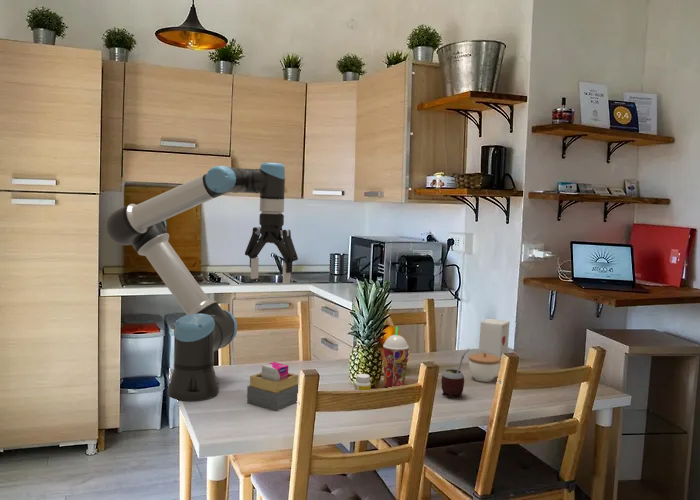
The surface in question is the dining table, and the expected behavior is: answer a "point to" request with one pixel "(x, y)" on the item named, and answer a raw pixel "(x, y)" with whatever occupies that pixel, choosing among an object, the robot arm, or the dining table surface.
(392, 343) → the smoothie
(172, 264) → the robot arm
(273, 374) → the supplement box
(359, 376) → the supplement bottle
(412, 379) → the dining table surface
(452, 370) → the mate gourd
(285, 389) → the box
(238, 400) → the dining table surface
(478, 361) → the lidded jar
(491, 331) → the supplement box
